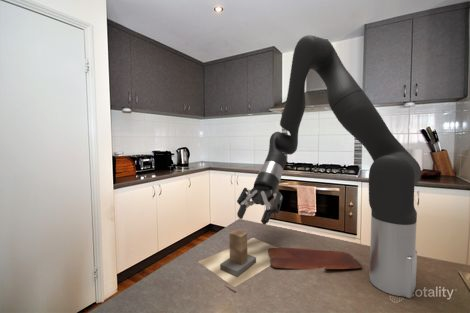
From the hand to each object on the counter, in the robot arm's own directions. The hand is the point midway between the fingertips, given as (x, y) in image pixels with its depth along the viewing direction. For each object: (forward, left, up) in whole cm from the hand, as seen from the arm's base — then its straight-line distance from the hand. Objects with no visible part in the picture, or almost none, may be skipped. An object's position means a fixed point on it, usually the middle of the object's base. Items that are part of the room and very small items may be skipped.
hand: (250, 220), depth 68 cm
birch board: (+1, +1, -13) cm, 13 cm away
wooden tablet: (-14, -12, -12) cm, 22 cm away
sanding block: (-1, +6, -11) cm, 13 cm away
